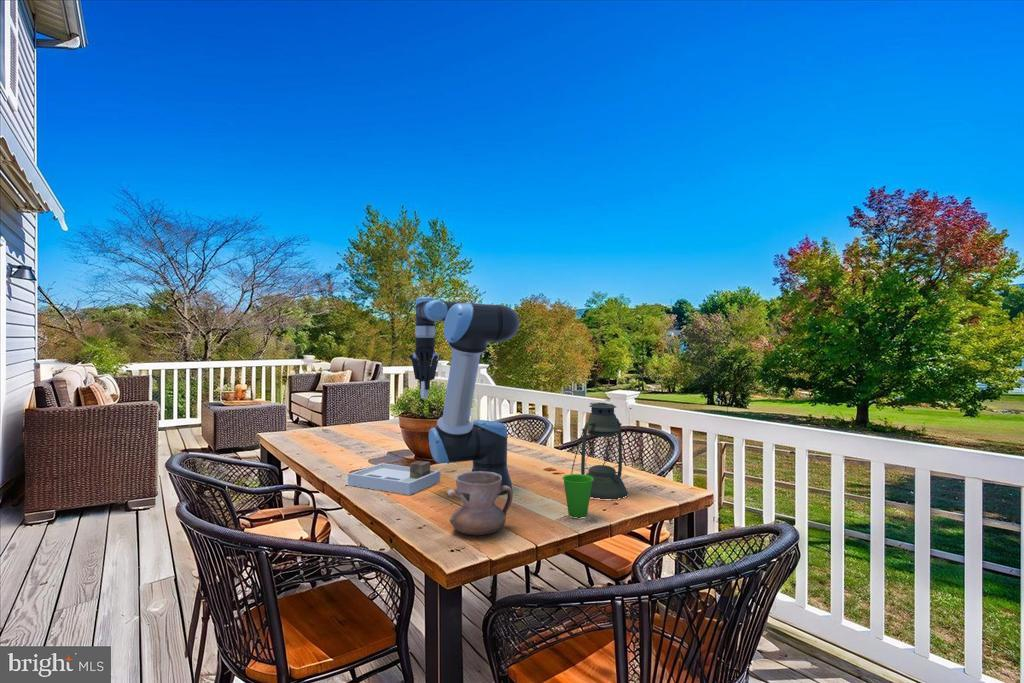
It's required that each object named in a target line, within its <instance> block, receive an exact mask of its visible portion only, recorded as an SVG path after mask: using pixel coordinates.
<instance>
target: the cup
mask: <svg viewBox="0 0 1024 683" xmlns="http://www.w3.org/2000/svg"><path fill="white" fill-rule="evenodd" d="M562 480H563V484H564V493H565V497H566V506H567V512H568V516H569V515H570V516H572V517H577V518H581V517H586V518H587V516H588V513H589V512H588V511H589V505H590V500H591V499H590V494H591V488H592V481H594V479H593V477H591V476H588V475H586V474H585V475H582V474H581V473H572V474H571V473H569V474H565V475H563V476H562ZM570 516H569V517H570Z"/></svg>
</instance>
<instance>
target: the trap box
mask: <svg viewBox="0 0 1024 683" xmlns="http://www.w3.org/2000/svg"><path fill="white" fill-rule="evenodd" d="M438 482H439V483H441V470H435V469H430V474H428V475H426V476H423V477H421V478H418V479H414V478H410V466H406V465H399V464H393V463H385V462H382V463H379V464H378V463H377V464H374V465H372V466H368V467H365V468H363V469H360V470H357V471H353V472H350V473H347V486H348V485H350V486H349V487H354V486H356V488H360V487H363V488H362V489H366V488H370V489H369V490H372V489H376V490H375V491H378V490H383V491H382V492H384V491H389V492H388V493H390V492H395V493H394V494H396V493H400V494H399V495H402V494H406V495H405V496H408V495H410V496H411V494H412V495H414V494H416V492H417V493H419V492H421V491H423V490H425V488H426V489H428V488H430V487H432V486H435V485H436V483H437V484H439V483H438ZM434 484H435V485H434ZM429 486H430V487H429ZM427 487H428V488H427ZM422 489H423V490H422ZM420 490H421V491H420ZM418 491H419V492H418ZM413 493H414V494H413Z"/></svg>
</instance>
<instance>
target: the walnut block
mask: <svg viewBox="0 0 1024 683" xmlns="http://www.w3.org/2000/svg"><path fill="white" fill-rule="evenodd" d="M409 467H410V478H414V479H418V478H421V477H423V476H426V475H428V474H430V470H431V461H423V460H416V461H413V462H411V463H409Z"/></svg>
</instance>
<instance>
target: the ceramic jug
mask: <svg viewBox="0 0 1024 683" xmlns="http://www.w3.org/2000/svg"><path fill="white" fill-rule="evenodd" d="M501 482H502V476H501V475H500V474H496V473H494V472H483V471H478V472H477V471H475V472H471V471H468V472H463V473H461V474H458V475H457V476H456V477H455V484H456V489H455V488H451V489H448V490H447V491H446V492H447V494H448V496H449V497H450V496H456V497H458V498H459V499H461V502H462V505H460V506H459V507H458V508H456V509H455V510H454V511H453V512H452V515H451V516H450V518H449V523H450V524H451V525H452V527H453V528H454V529H455V530H456V531H458V532H460V533H462V534H464V535H465V534H466V535H470V536H485V535H490V534H493V533H495V532H497V531H499V530H501V529H502V528H503V527H504V526H505V524H506V521H507V513H508V510H509V508H510V507H511V504H512V502H513V496H514V495H513V490H512V489H513V488H512V489H511V488H510V487H509V486H506V485H504V486H501ZM502 491H507V493H506V494H507V498H506V501H505V503H504V506H503V508H500V507H499V506H498V505H496V504H495V502H496V500H497V498H498V496H499V495H498V494H500V493H501V492H502Z"/></svg>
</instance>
